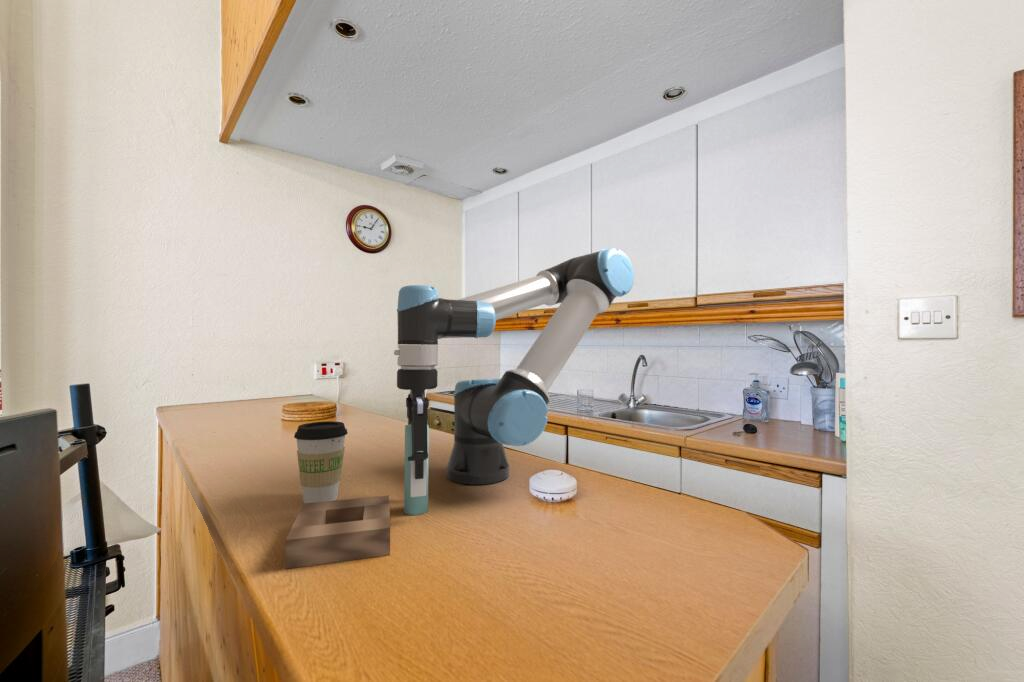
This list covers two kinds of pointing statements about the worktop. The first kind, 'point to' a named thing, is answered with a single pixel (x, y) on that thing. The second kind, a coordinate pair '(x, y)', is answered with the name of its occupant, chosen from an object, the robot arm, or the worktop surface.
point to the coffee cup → (320, 459)
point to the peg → (410, 503)
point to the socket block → (339, 532)
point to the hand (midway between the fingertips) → (416, 487)
